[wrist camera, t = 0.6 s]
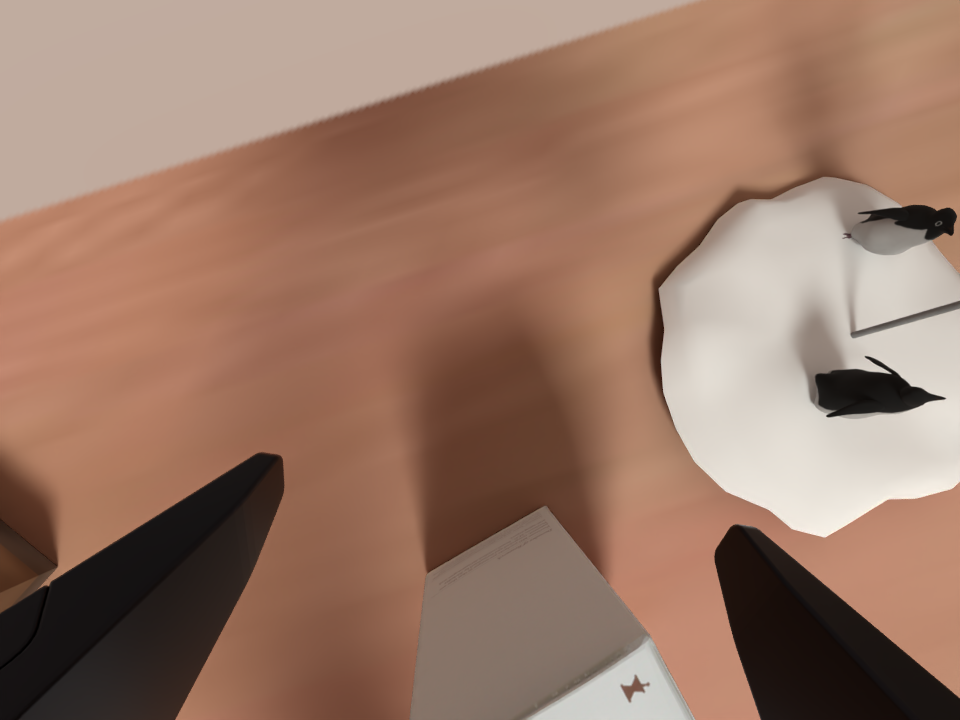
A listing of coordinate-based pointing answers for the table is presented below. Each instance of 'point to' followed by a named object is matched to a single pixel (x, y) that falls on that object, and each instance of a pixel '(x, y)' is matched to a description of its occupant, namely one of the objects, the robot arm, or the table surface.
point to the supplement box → (534, 637)
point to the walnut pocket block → (19, 568)
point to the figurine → (818, 353)
